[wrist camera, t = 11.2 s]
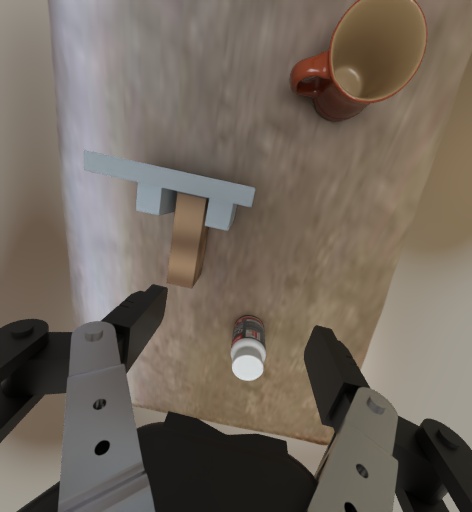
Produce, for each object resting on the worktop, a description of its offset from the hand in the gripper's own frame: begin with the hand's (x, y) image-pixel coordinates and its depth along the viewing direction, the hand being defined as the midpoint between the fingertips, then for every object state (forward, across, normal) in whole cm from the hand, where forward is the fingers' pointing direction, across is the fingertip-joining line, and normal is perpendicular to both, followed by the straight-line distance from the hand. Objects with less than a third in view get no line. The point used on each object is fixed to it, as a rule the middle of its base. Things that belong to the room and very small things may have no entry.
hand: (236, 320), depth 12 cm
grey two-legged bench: (+26, +9, -3) cm, 28 cm away
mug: (+27, -6, -20) cm, 34 cm away
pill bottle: (+26, -5, +18) cm, 32 cm away
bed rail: (+26, +9, +3) cm, 28 cm away
